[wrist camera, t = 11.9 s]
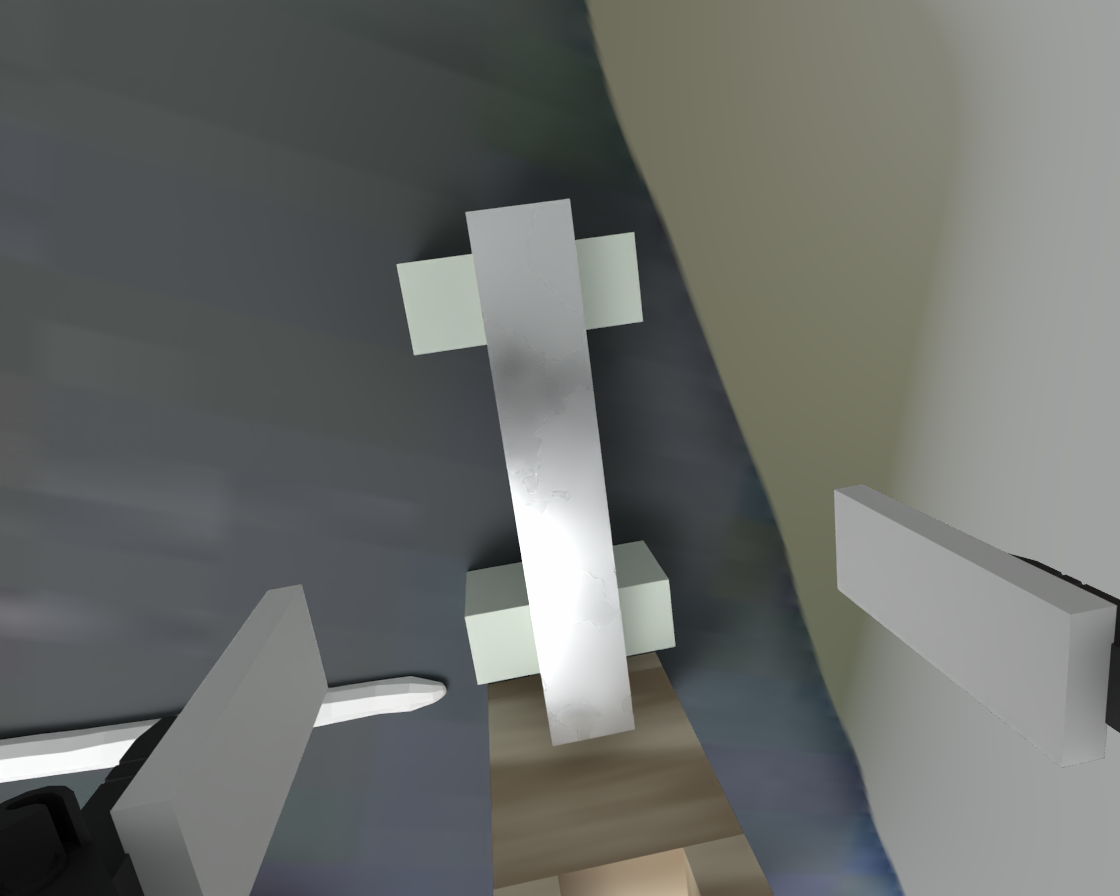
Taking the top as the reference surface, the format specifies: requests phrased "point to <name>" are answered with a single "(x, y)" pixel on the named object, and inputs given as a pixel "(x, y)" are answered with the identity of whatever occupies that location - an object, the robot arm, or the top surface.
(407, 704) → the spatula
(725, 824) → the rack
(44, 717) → the top surface
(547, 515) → the rail
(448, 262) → the rest
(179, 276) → the top surface
